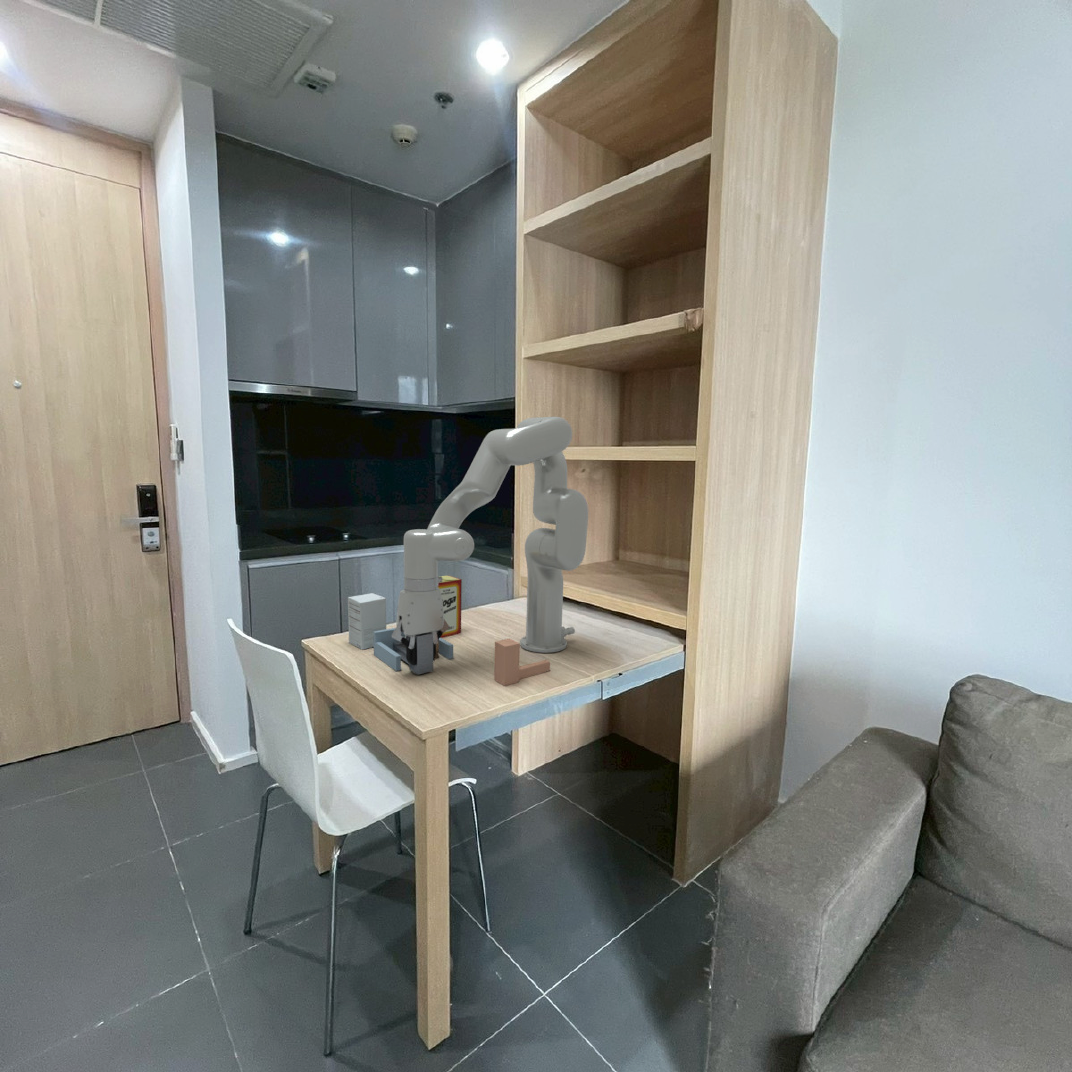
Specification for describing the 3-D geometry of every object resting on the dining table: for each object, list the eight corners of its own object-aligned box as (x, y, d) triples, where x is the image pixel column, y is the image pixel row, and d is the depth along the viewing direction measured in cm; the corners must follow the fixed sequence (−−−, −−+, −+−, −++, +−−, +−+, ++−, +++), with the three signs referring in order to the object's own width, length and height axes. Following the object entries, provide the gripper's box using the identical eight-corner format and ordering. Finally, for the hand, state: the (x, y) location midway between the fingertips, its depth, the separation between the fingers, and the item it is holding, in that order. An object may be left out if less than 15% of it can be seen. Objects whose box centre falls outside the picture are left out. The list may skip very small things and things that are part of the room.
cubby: (428, 643, 149) (428, 621, 148) (453, 658, 139) (453, 635, 138) (373, 654, 140) (373, 631, 139) (396, 671, 129) (395, 646, 129)
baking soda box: (432, 639, 152) (432, 582, 150) (419, 633, 157) (419, 578, 155) (461, 633, 158) (461, 578, 156) (448, 627, 163) (448, 574, 161)
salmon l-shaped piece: (504, 685, 123) (505, 646, 122) (494, 680, 126) (494, 641, 125) (553, 672, 131) (554, 635, 130) (542, 667, 135) (543, 631, 133)
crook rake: (455, 665, 133) (456, 628, 131) (417, 674, 127) (417, 636, 125) (424, 646, 145) (424, 613, 144) (388, 654, 139) (387, 619, 138)
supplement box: (373, 637, 153) (372, 592, 151) (387, 644, 148) (386, 597, 146) (347, 643, 148) (347, 596, 146) (361, 650, 142) (360, 602, 141)
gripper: (445, 577, 135) (445, 649, 137) (379, 585, 124) (380, 664, 127) (461, 582, 129) (461, 659, 131) (393, 592, 118) (393, 674, 121)
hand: (421, 660), depth 129 cm, fingers closed on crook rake, 4 cm apart
